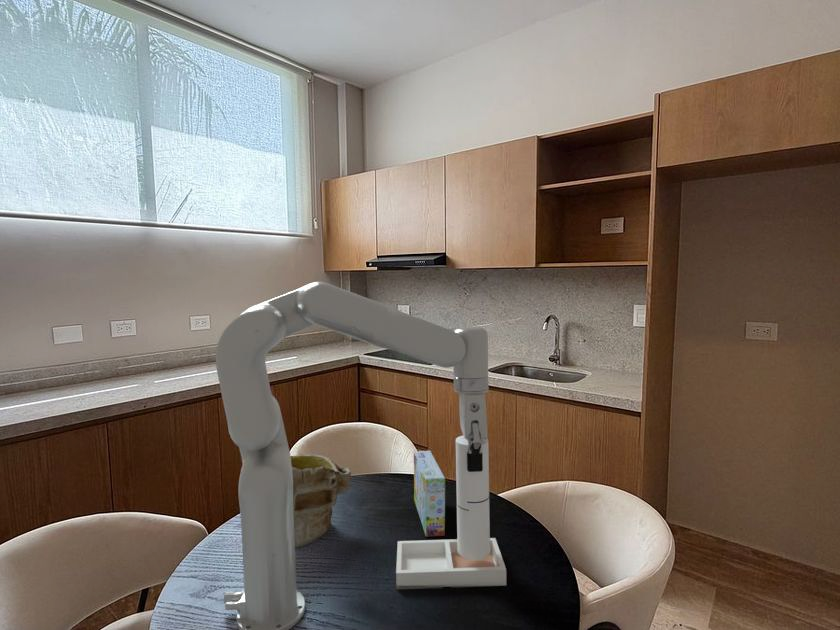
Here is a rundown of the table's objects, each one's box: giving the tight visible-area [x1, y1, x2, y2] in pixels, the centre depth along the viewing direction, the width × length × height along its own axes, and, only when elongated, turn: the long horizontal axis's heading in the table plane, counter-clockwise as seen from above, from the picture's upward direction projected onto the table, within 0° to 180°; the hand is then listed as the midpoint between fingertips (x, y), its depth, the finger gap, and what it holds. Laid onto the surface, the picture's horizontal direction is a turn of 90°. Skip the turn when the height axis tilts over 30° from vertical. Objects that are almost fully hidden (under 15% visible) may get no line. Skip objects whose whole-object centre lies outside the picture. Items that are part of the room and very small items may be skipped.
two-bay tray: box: [395, 537, 507, 590], centre depth 100 cm, size 23×12×4 cm, turn 91°
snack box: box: [413, 450, 446, 538], centre depth 123 cm, size 21×6×15 cm, turn 9°
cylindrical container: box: [455, 435, 491, 560], centre depth 99 cm, size 7×7×25 cm
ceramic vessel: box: [290, 453, 352, 549], centre depth 117 cm, size 23×24×25 cm
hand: (472, 463), depth 99 cm, fingers closed on cylindrical container, 7 cm apart
